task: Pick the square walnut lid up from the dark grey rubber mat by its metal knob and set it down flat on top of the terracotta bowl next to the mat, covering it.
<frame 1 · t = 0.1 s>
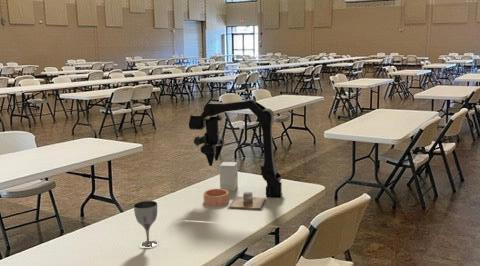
hand: (213, 163, 215), 15 cm above the table, fingers open, 9 cm apart
wine glass: (148, 245, 164), on the table
mat: (248, 204, 201), on the table
supplement box: (229, 189, 223), on the table
bowl: (216, 202, 205), on the table
lid: (248, 203, 201), resting on mat
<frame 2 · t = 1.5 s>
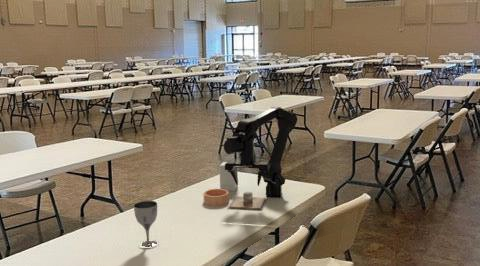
hand: (247, 185, 200), 9 cm above the table, fingers open, 9 cm apart
nothing on the table moved.
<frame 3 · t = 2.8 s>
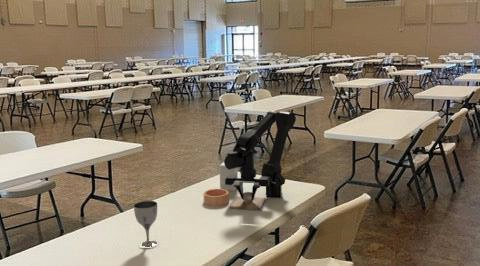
hand: (248, 199, 201), 2 cm above the table, fingers closed on lid, 4 cm apart
lid: (248, 203, 201), resting on mat, touching gripper
everything else where it was.
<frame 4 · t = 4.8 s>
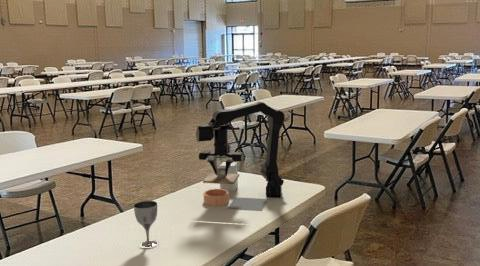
hand: (221, 175, 202), 13 cm above the table, fingers closed on lid, 4 cm apart
lid: (221, 179, 202), point 11 cm above the table, touching gripper
everything else where it was.
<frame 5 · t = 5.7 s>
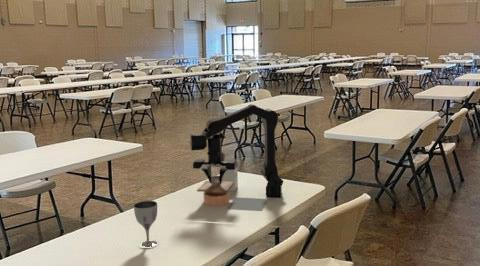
hand: (215, 183, 204), 9 cm above the table, fingers closed on lid, 4 cm apart
lid: (216, 187, 204), point 7 cm above the table, touching gripper
everything else where it was.
when the fingers open (7 cm above the table, at t = 6.7 s): lid stays where it is, resting on bowl.
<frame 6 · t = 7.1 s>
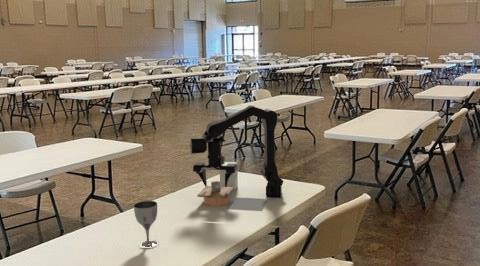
hand: (215, 186, 204), 7 cm above the table, fingers open, 9 cm apart
lid: (216, 192, 205), point 4 cm above the table, touching bowl
everything else where it was.
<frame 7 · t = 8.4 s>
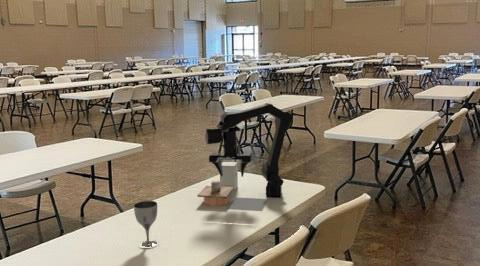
hand: (232, 176, 204), 11 cm above the table, fingers open, 9 cm apart
nothing on the table moved.
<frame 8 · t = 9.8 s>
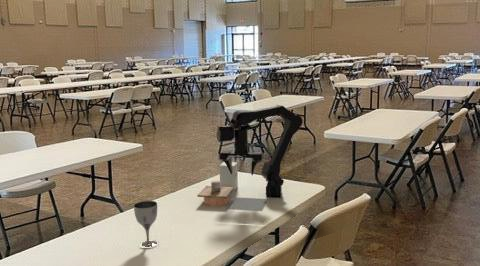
hand: (242, 174, 204), 12 cm above the table, fingers open, 9 cm apart
nothing on the table moved.
at the end: lid 0.1 cm off-centre on the bowl, point 4.5 cm above the bowl's base; lid tilted 0°; the gripper is holding nothing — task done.
